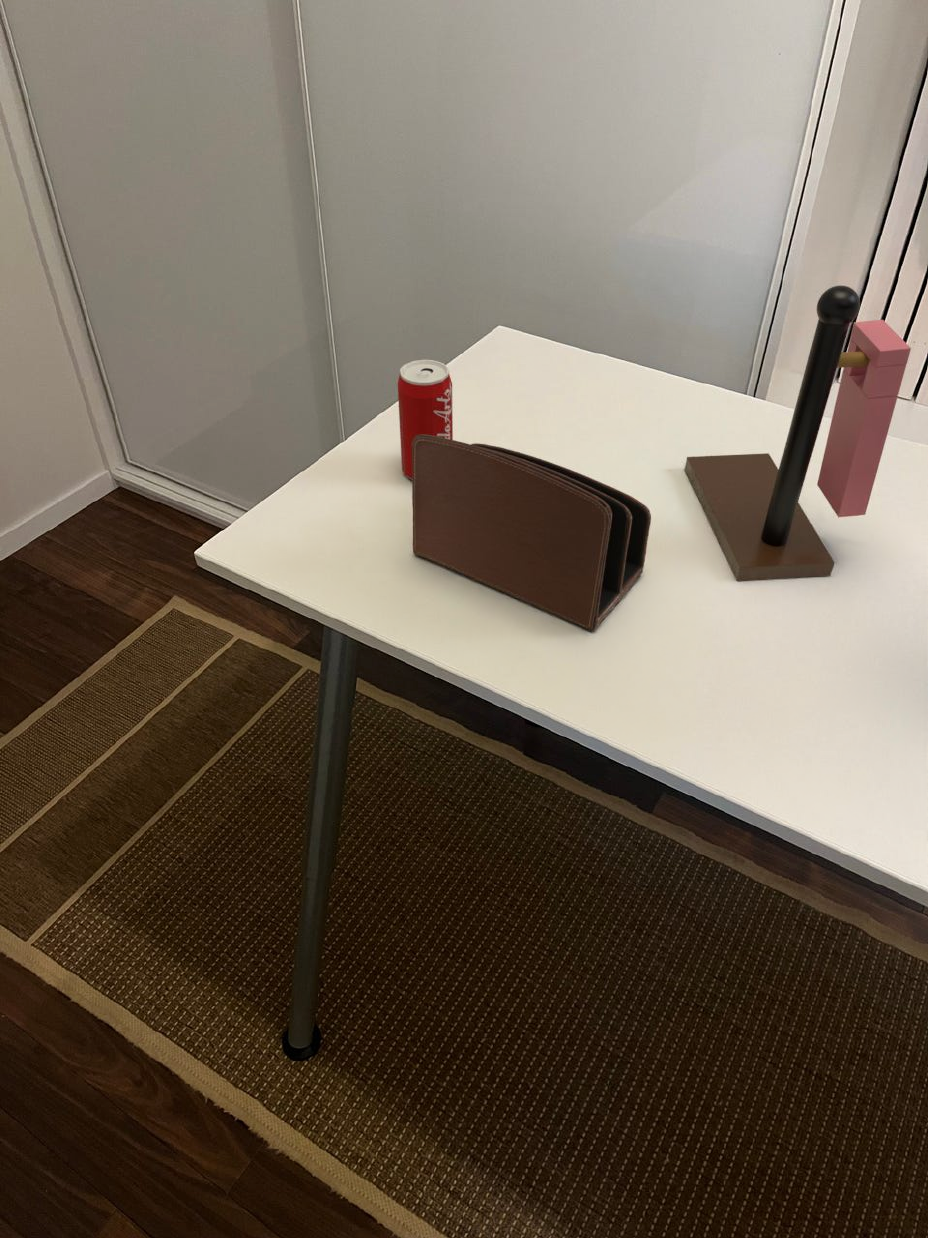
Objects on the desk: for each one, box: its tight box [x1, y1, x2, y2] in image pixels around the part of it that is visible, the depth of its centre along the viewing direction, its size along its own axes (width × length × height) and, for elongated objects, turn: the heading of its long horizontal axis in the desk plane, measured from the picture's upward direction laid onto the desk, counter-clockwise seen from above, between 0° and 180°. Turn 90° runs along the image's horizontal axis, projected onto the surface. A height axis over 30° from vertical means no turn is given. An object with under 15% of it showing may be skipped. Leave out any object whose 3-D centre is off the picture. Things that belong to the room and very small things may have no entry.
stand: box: [684, 285, 870, 582], centre depth 86 cm, size 12×19×26 cm, turn 5°
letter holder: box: [411, 434, 652, 633], centre depth 85 cm, size 10×20×14 cm, turn 56°
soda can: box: [397, 359, 454, 480], centre depth 97 cm, size 6×6×12 cm
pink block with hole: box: [817, 319, 912, 518], centre depth 82 cm, size 2×5×16 cm, turn 5°
